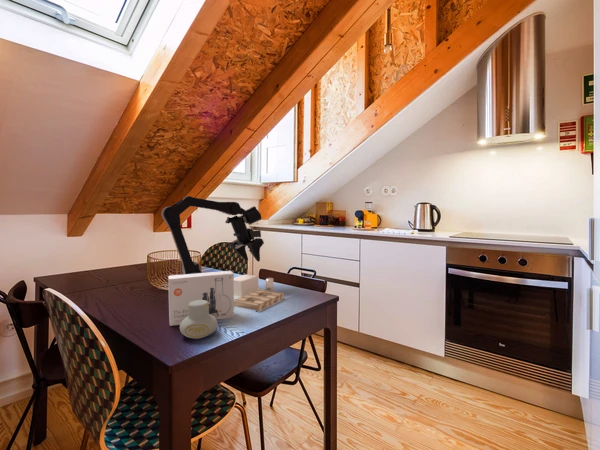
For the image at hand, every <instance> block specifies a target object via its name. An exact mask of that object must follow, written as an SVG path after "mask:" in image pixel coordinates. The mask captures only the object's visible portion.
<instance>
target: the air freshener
mask: <svg viewBox="0 0 600 450" xmlns="http://www.w3.org/2000/svg"><path fill="white" fill-rule="evenodd" d="M218 326H219V324H218V319H216V318H215V317H214V316H212V315H210V314H209V303H208V301H206V300H196V301H192V302H190V303H189V304H188V317H186V318H185V319H184V320H183V321H182V322H181V324H180V325H179V330H180V333H181V334H182V335H183V336H185V337H186V338H189V339H193V340H200V339H203V338H206V337H208V336H210V335H212V334H213V333H214V332H215V331H216V330H217V328H218Z"/></svg>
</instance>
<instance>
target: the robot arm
mask: <svg viewBox="0 0 600 450" xmlns="http://www.w3.org/2000/svg"><path fill="white" fill-rule="evenodd" d="M189 207H194V208H200V209H206V210H212V211H216V212H217V211H218V212H220V213H222V214H225V215H227V217H226V220H225V224H231V227H232V229H233V232H234V233H233V234H232V235H233V236H234V237H236V239H235V240H233V241H231V242H230V244H229V247H230V249H231V250H233V251H234V252H235V253H236V254H238V255H239V256H240V257H241V258H242V259H243V260H244V261H246V262H247V261H248V260H249V257H248V254H247V251H246V246H247V248H248V251H249V252H250V255H252V257H253V258H254V259H255V261H257V262H260V261H261V254H260V251H261V248H262V246H263V245H264V243H265V242H264V239H263V238H262V231H261V229H259V230H253V229H252V228H250V227H249V228H248V227H247V225H249V226H250V225H252V224H255V223H257V222H259V221H261V220H262V214H261V213H260V211H259V210H258V208H257V207H256V206H254V205H253V206H251V207H249V208H247V209H244V208H242V207H241V205H240V204H239V202H237V201H217V200H216V201H215V200H209V199H206V198H205V199H204V198H199V197H193V196H189V195H188V196H187V195H186V196H184V197H183V198H181V200H179V201H177V202H176V203H173V204H172V205H171V206H165V207H164V208H162V210H161V212H160V216H161V217H162V220H163V221H164V223H165V224H166V226H167V227H168V229H169V231H170V234H171V236H172V239H173V242H174V245H175V247H176V250H177V253H178V255H179V258H180V261H181V271H182V275H183V274H196V273H203V272H202V271H201V269H200V265H199V263H198V262H196V261H194V260H192V259H193V258H192V257H191V254H190V251H189V247H188V245H187V242H186V239H185V236H184V233H183V231H182V226H181V214H182V213H183V212H185V211H186V210H187V209H188V208H189ZM238 215H239V216H238ZM229 216H232V217H229Z"/></svg>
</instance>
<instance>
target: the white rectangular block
mask: <svg viewBox="0 0 600 450" xmlns="http://www.w3.org/2000/svg"><path fill="white" fill-rule="evenodd" d="M259 289H260V288H259V275H256V274H248V273H246V274H242V275H239V276H235V277H234V296H240V297H242V296H245V295H247V294H250V293H252V292H255V291H257V290H259Z"/></svg>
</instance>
